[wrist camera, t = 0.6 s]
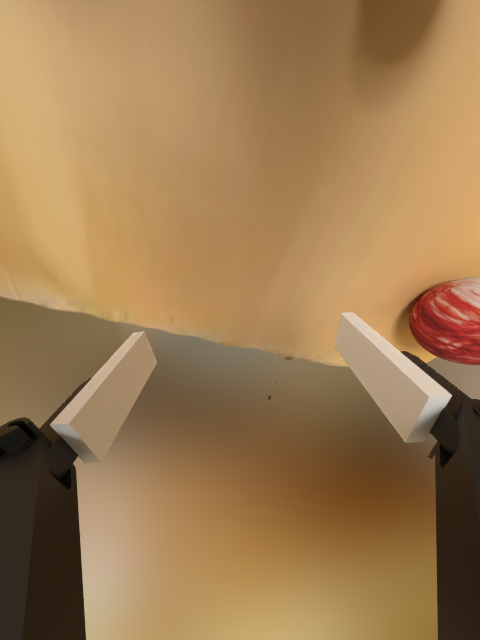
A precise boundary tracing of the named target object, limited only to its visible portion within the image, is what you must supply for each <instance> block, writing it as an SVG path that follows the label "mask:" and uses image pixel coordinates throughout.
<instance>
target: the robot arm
mask: <svg viewBox="0 0 480 640" xmlns="http://www.w3.org/2000/svg"><path fill="white" fill-rule="evenodd" d="M335 348H336V349H337V351H338V352H339V353H340V355H341V356H342V357H343V359H344V360H345V361H346V363H347V364H348V366H349V367H350V368H351V370H352V371H353V372H354V374H355V375H356V376H357V378H358V379H359V380H360V382H361V383H362V384H363V386H364V387H365V389H366V390H367V391H368V392H369V394H370V395H371V397H372V398H373V399H374V401H375V402H376V403H377V405H378V406H379V407H380V409H381V410H382V411H383V413H384V414H385V415H386V417H387V418H388V420H389V421H390V422H391V423H392V425H393V426H394V428H395V429H396V430H397V432H398V433H399V435H400V436H401V437H402V439H403V440H404V441H405V443H410V442H425V440H426V439H427V437H428V435H429V433H431V434H432V435H433V436H434V437H435V438H436V440H437V443H436V444H435V446H434V447H433V449H432V450H431V452H430V454H429V456H428V457H429V458H431V459H432V458H433V456H434V455H435V476H436V477H435V479H436V537H437V539H436V543H437V604H438V605H437V606H438V640H480V400H478V399H471V398H469V397H468V396H467V395H465V394H464V393H463V392H462V391H460V390H459V389H458V388H457V387H455V386H454V385H453V384H451V383H450V382H449V381H448V380H446V379H445V378H444V377H442V376H441V375H440V374H439V373H436V371H435V370H433V369H432V368H431V367H428V365H427V364H426V363H425V362H423V361H422V360H421V359H420V358H418V357H416V356H414V355H412V354H410V353H408V352H406V351H402V352H400V351H399V350H397V349H396V348H395V347H394V346H393V345H391V344H390V343H389V342H388V341H387V340H385V339H384V338H383V337H382V336H381V335H380V334H378V333H377V332H376V331H375V330H374V329H372V328H371V327H370V326H369V325H368V324H366V323H365V322H364V321H363V320H362V319H360V318H359V317H358V316H357V315H356V314H354V313H353V312H347V313H341V314H340V320H339V326H338V332H337V339H336V345H335ZM156 363H157V362H156V359H155V356H154V354H153V351H152V349H151V346H150V344H149V341H148V339H147V336H146V334H145V332H144V331H143V332H134V333H133V334H132V335H131V336H130V337H129V338H128V339H127V340H126V341H125V342H124V344H123V345H122V346H121V347H120V348H119V349H118V350H117V351H116V352H115V354H114V355H113V356H112V357H111V358H110V359H109V360H108V361H107V362H106V363H105V364H104V366H103V367H102V368H101V369H100V370H99V371H98V372H97V373H96V374H95V375H94V377H93V378H90V379H88V380H87V381H86V382H84V383H83V384H81V385H80V386H79V387H78V388H77V389H76V390H75V391H74V393H73V394H72V396H70V397H69V398H68V399H67V400H66V402H65V403H63V404H62V405H61V406H60V407H59V408H58V410H57V411H56V412H55V413H54V414H53V415H52V416H51V417H50V418H49V419H48V420H47V421H46V422H45V423H44V424H43V426H42V427H41V428H40V429H38V428H37V427H36V425H35V424H34V423H33V422H32V421H31V420H30V419H28V418H25V417H24V418H18V419H15V420H13V421H10V422H8V423H6V424H4V425H2V426H1V427H0V640H86V633H85V615H84V598H83V582H82V566H81V548H80V532H79V516H78V515H79V514H78V497H77V480H76V468H75V466H74V465H73V462H74V461H75V459H76V458H77V456H79V457H80V459H81V460H82V461H83V462H84V463H94V462H101V461H102V459H103V458H104V456H105V454H106V452H107V450H108V449H109V447H110V445H111V443H112V442H113V440H114V438H115V436H116V435H117V433H118V431H119V429H120V427H121V426H122V424H123V422H124V420H125V418H126V417H127V415H128V413H129V411H130V410H131V408H132V406H133V404H134V402H135V401H136V399H137V397H138V395H139V394H140V392H141V390H142V388H143V386H144V385H145V383H146V381H147V379H148V378H149V376H150V374H151V372H152V371H153V369H154V367H155V365H156Z"/></svg>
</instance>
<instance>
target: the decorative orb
mask: <svg viewBox="0 0 480 640" xmlns="http://www.w3.org/2000/svg"><path fill="white" fill-rule="evenodd" d="M409 324H410V329H411V332H412V334H413V336H414V338H415V339H416V341H417V342H418V343H419V344H420V345H421V346H422V347H423V348H424V349H426V350H427V351H428V352H430V353H432V354H433V355H435V356H437V357H440V358H442V359H445V360H448V361H451V362H456V363H461V364H470V365H480V277H468V278H462V279H457V280H453V281H450V282H446V283H443V284H441V285H439V286H436V287H434V288H433V289H431V290H429V291H428V292H426V293H425V294H424V295H423V296H421V297H420V298H419V299H418V301H417V302H416V303H415V305H414V306H413V308H412V310H411V313H410V318H409Z"/></svg>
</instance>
